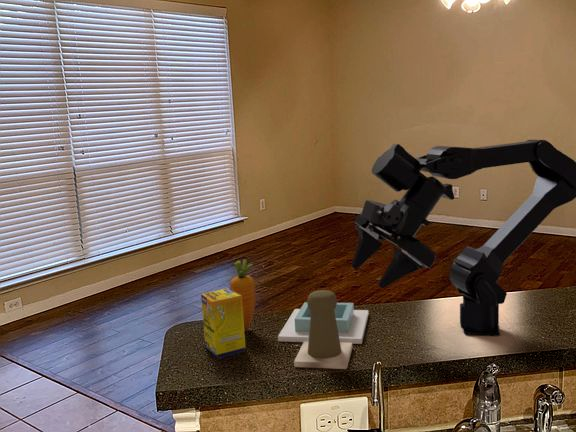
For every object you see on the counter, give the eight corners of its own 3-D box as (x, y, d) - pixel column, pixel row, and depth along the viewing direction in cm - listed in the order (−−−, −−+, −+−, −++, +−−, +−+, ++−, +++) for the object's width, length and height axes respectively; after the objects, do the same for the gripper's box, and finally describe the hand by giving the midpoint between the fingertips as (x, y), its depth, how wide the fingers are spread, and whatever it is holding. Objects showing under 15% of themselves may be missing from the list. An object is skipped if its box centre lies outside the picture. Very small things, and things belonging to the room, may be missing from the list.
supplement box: (204, 349, 108) (199, 293, 107) (233, 341, 111) (229, 287, 109) (216, 359, 103) (211, 301, 101) (246, 351, 106) (242, 294, 104)
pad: (352, 347, 105) (352, 342, 105) (346, 369, 96) (346, 363, 96) (304, 346, 107) (304, 341, 107) (294, 366, 98) (294, 361, 98)
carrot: (247, 324, 120) (242, 255, 118) (263, 329, 117) (258, 258, 114) (228, 331, 117) (223, 260, 114) (244, 337, 113) (239, 263, 111)
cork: (332, 342, 105) (330, 284, 104) (347, 354, 100) (345, 293, 98) (302, 348, 103) (299, 290, 101) (315, 361, 98) (312, 299, 96)
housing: (368, 314, 122) (368, 298, 121) (361, 343, 106) (360, 326, 106) (295, 313, 125) (294, 297, 125) (278, 341, 110) (277, 323, 109)
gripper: (359, 171, 108) (312, 239, 108) (419, 195, 91) (363, 276, 91) (396, 201, 113) (352, 266, 113) (459, 229, 97) (406, 305, 97)
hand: (366, 277), depth 103 cm, fingers open, 9 cm apart
